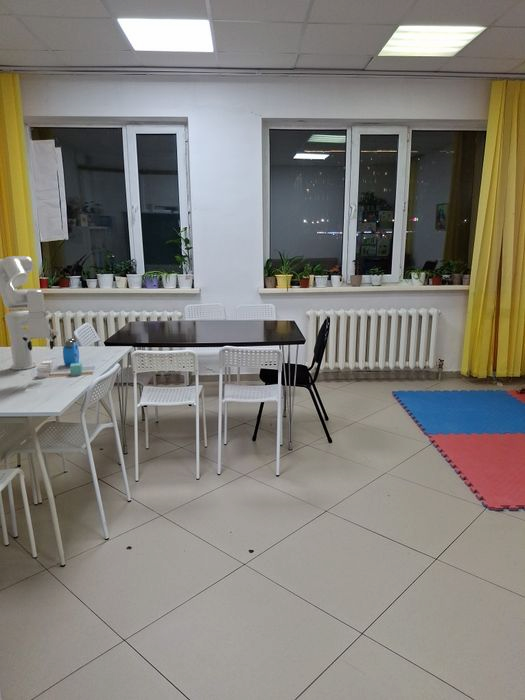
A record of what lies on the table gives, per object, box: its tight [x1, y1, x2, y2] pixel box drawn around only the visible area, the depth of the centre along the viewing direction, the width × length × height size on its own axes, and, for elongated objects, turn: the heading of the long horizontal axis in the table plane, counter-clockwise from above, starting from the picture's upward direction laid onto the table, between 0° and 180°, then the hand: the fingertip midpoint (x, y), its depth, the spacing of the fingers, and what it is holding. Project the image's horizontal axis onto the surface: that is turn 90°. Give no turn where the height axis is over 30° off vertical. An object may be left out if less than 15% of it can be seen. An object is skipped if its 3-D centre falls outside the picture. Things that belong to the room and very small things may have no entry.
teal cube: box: [69, 362, 83, 377], centre depth 238 cm, size 5×5×5 cm
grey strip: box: [40, 360, 96, 374], centre depth 246 cm, size 7×26×6 cm, turn 104°
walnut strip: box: [36, 364, 95, 379], centre depth 237 cm, size 7×26×6 cm, turn 104°
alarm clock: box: [62, 338, 80, 367], centre depth 257 cm, size 13×6×15 cm, turn 12°
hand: (41, 349), depth 231 cm, fingers open, 9 cm apart
